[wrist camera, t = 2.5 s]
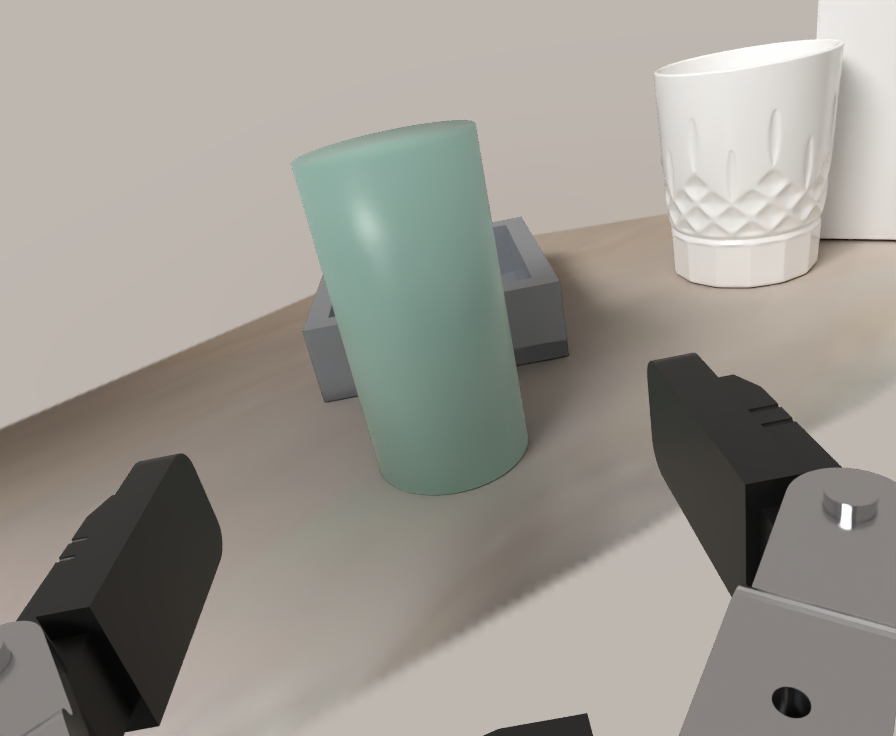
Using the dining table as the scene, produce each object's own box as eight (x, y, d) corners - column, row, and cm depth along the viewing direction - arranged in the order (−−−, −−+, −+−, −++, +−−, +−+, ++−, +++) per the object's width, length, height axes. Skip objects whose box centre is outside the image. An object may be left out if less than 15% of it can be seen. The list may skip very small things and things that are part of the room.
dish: (324, 402, 30) (302, 331, 29) (345, 311, 40) (330, 254, 39) (568, 355, 30) (559, 280, 28) (529, 275, 40) (521, 216, 38)
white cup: (663, 246, 40) (654, 63, 35) (813, 233, 37) (824, 33, 33) (663, 300, 33) (653, 82, 29) (846, 287, 31) (865, 46, 26)
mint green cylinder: (375, 508, 23) (275, 179, 18) (381, 422, 28) (304, 147, 23) (540, 477, 22) (484, 135, 18) (516, 396, 28) (468, 113, 23)
